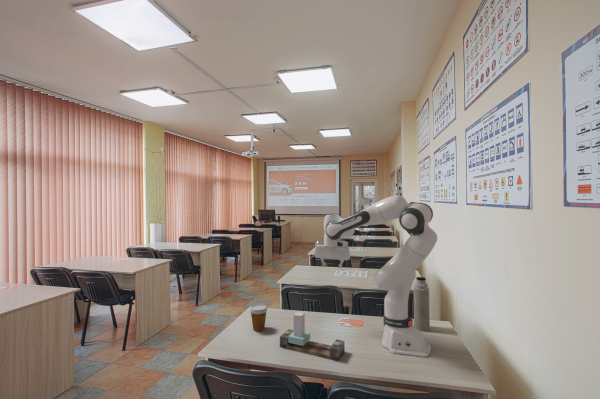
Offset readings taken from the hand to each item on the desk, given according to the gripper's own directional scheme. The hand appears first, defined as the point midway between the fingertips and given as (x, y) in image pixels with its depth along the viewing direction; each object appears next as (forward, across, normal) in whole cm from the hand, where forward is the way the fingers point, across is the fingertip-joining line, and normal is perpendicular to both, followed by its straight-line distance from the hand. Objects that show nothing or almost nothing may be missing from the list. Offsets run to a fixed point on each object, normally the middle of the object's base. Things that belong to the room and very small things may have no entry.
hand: (332, 266), depth 162 cm
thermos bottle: (+34, +45, +20) cm, 60 cm away
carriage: (+31, -8, -27) cm, 42 cm away
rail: (+34, -1, -27) cm, 43 cm away
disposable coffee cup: (+34, -37, -19) cm, 54 cm away
